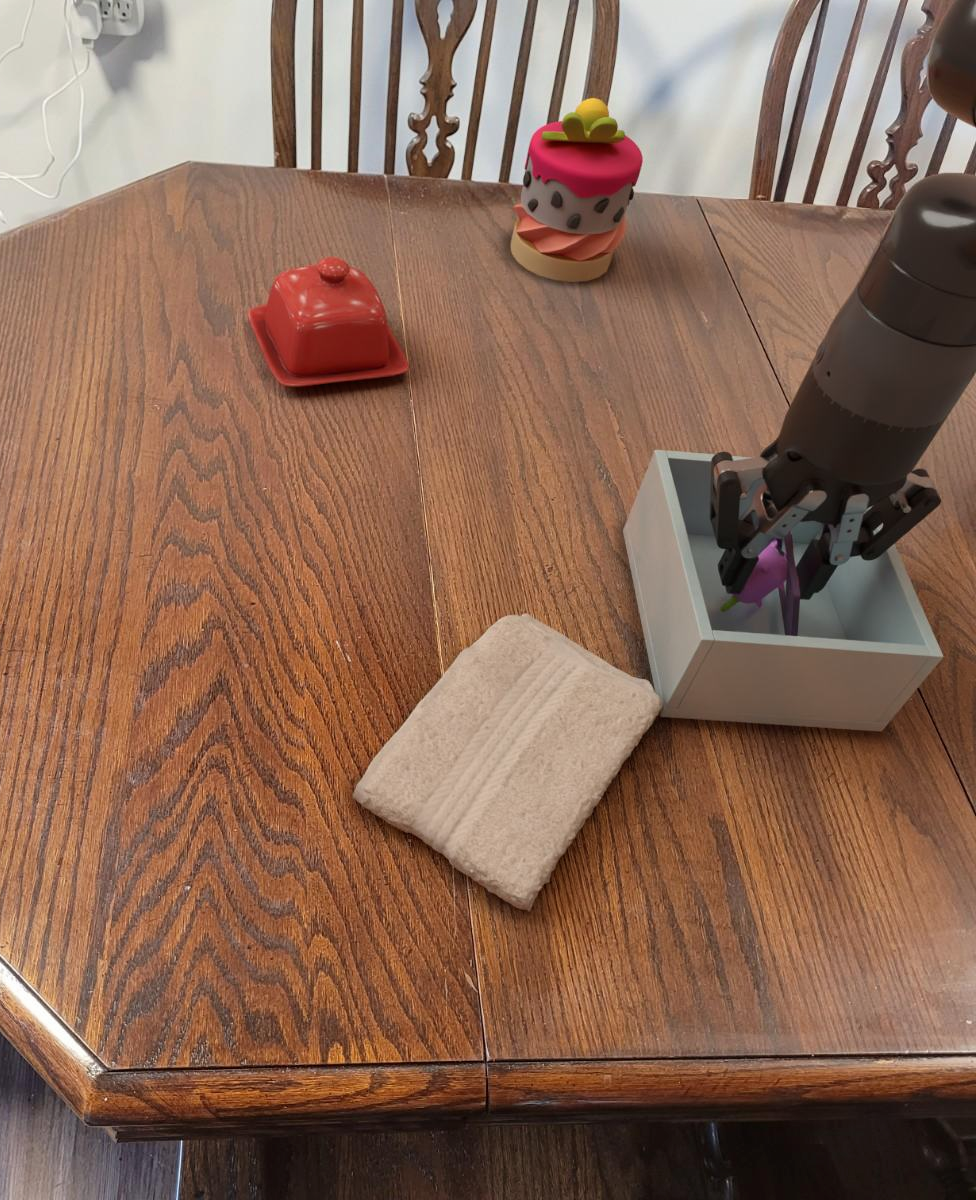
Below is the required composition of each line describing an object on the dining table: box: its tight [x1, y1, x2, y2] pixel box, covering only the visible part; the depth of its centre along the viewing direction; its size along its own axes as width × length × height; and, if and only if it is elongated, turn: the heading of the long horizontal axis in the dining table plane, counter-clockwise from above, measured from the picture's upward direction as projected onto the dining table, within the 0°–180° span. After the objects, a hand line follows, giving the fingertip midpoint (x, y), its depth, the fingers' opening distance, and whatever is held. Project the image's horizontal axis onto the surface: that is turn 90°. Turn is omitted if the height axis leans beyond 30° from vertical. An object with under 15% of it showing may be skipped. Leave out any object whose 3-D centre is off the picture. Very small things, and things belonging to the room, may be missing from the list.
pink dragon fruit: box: [719, 530, 800, 636], centre depth 69 cm, size 7×5×9 cm
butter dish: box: [247, 256, 410, 388], centre depth 85 cm, size 12×12×8 cm
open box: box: [622, 449, 944, 732], centre depth 69 cm, size 15×17×8 cm
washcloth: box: [352, 612, 663, 913], centre depth 62 cm, size 12×18×3 cm, turn 145°
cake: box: [510, 97, 644, 283], centre depth 96 cm, size 10×11×15 cm
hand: (765, 586), depth 69 cm, fingers closed on pink dragon fruit, 4 cm apart
